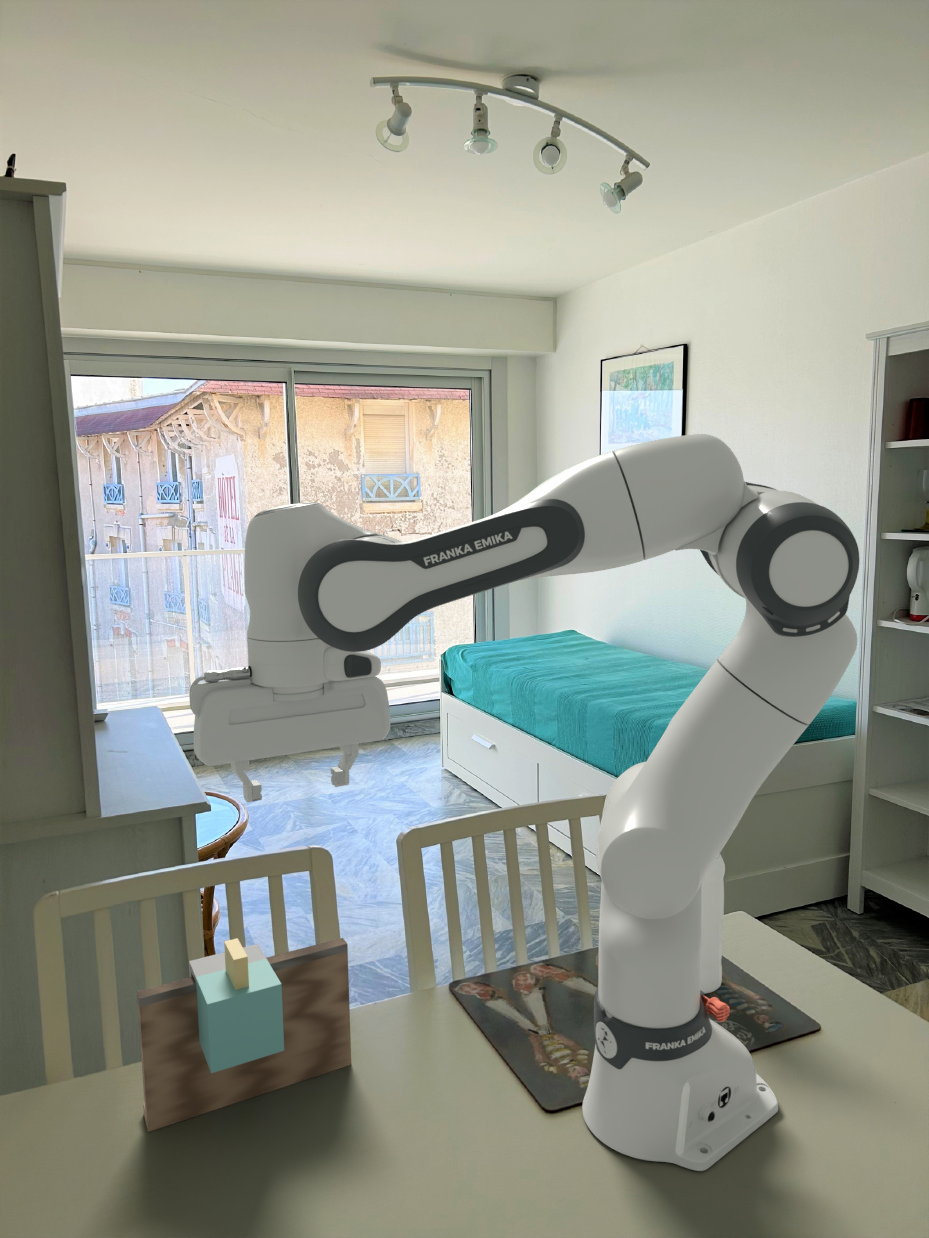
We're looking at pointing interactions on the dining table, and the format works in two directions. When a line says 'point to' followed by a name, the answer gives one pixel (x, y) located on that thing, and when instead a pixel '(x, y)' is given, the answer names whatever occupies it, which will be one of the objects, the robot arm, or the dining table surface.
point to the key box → (237, 1006)
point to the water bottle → (712, 926)
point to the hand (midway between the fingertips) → (297, 792)
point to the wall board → (310, 1050)
